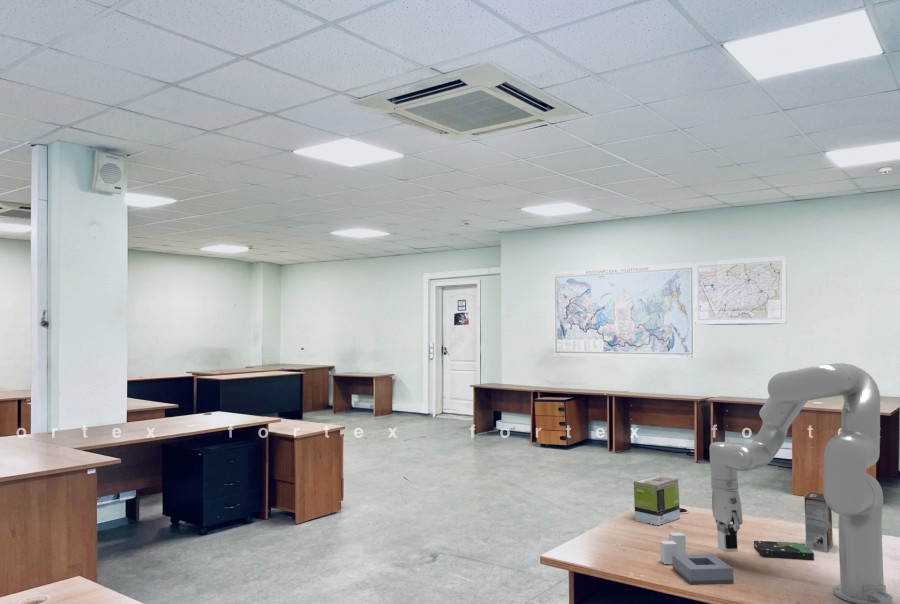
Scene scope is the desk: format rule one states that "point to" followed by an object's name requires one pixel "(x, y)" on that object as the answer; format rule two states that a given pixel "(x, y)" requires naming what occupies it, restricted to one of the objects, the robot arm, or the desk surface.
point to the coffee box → (818, 523)
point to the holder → (702, 569)
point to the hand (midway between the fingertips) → (727, 545)
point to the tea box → (656, 500)
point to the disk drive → (783, 550)
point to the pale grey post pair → (672, 547)
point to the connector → (723, 538)
